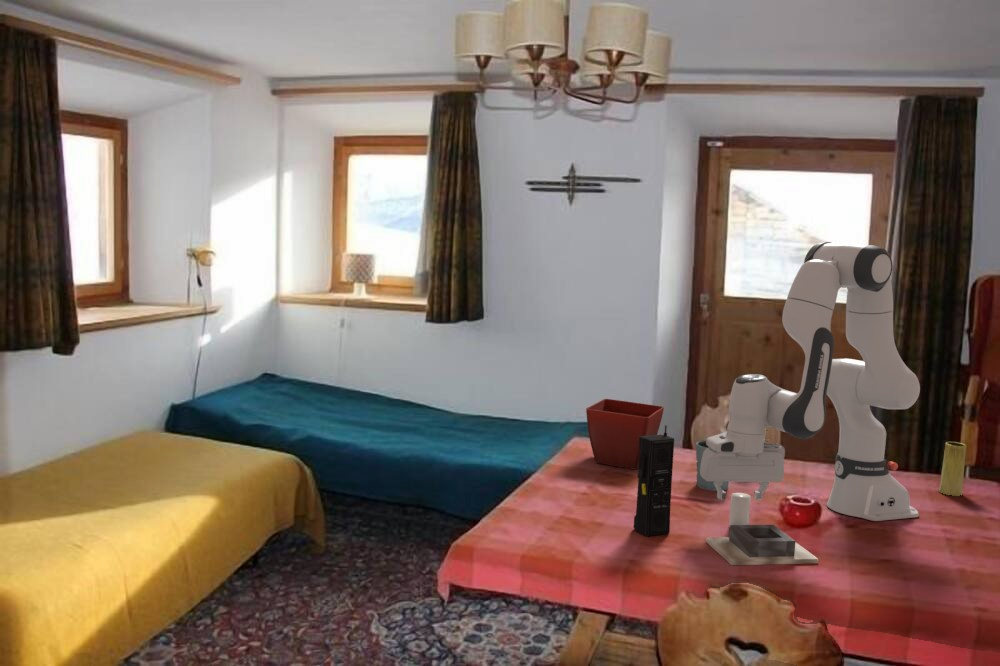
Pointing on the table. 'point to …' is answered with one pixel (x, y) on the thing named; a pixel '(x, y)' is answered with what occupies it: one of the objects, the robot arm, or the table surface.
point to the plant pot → (620, 430)
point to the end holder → (760, 546)
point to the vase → (953, 469)
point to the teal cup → (700, 481)
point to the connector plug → (739, 509)
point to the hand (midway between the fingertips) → (739, 498)
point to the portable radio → (654, 484)
